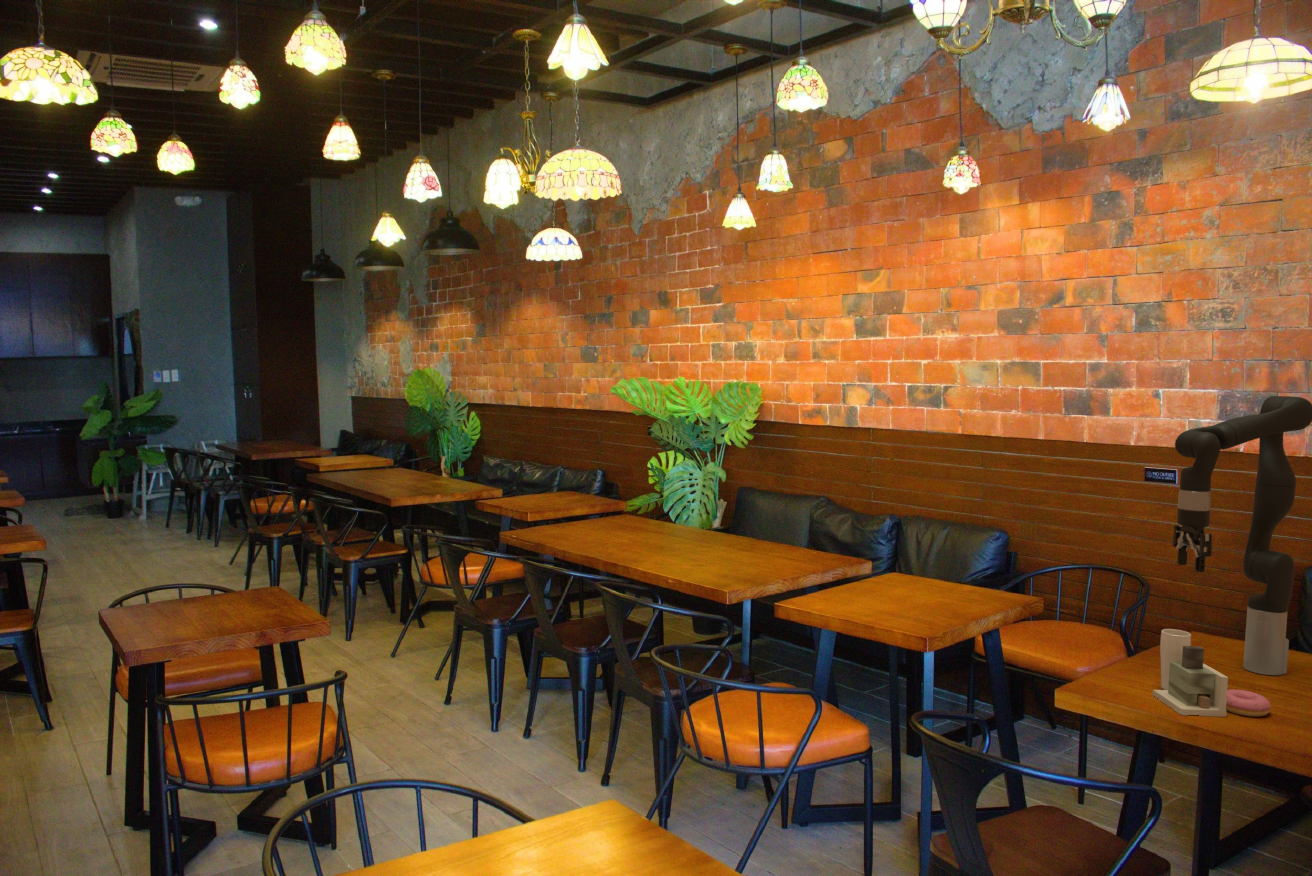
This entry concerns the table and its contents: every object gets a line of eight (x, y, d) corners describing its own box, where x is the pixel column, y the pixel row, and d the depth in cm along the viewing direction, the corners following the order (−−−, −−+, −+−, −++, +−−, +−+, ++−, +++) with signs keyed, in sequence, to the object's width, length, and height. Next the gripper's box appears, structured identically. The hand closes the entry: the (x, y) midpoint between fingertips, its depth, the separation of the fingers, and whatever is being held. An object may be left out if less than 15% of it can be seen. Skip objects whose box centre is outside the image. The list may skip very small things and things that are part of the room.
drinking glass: (1191, 695, 241) (1195, 637, 240) (1162, 693, 242) (1166, 634, 241) (1182, 686, 248) (1186, 629, 246) (1153, 684, 249) (1157, 627, 248)
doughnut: (1221, 699, 239) (1222, 683, 239) (1273, 710, 232) (1274, 693, 232) (1213, 711, 231) (1214, 694, 230) (1266, 722, 224) (1268, 705, 223)
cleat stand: (1195, 696, 240) (1197, 659, 239) (1226, 716, 226) (1228, 677, 226) (1152, 695, 240) (1155, 658, 240) (1181, 715, 227) (1183, 676, 226)
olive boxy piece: (1192, 693, 238) (1195, 642, 237) (1212, 706, 229) (1216, 653, 228) (1168, 693, 238) (1171, 641, 237) (1187, 705, 229) (1190, 652, 228)
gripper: (1224, 511, 244) (1220, 574, 246) (1193, 503, 258) (1190, 562, 260) (1194, 511, 244) (1190, 574, 246) (1165, 503, 259) (1162, 562, 260)
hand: (1190, 568), depth 253 cm, fingers open, 8 cm apart
